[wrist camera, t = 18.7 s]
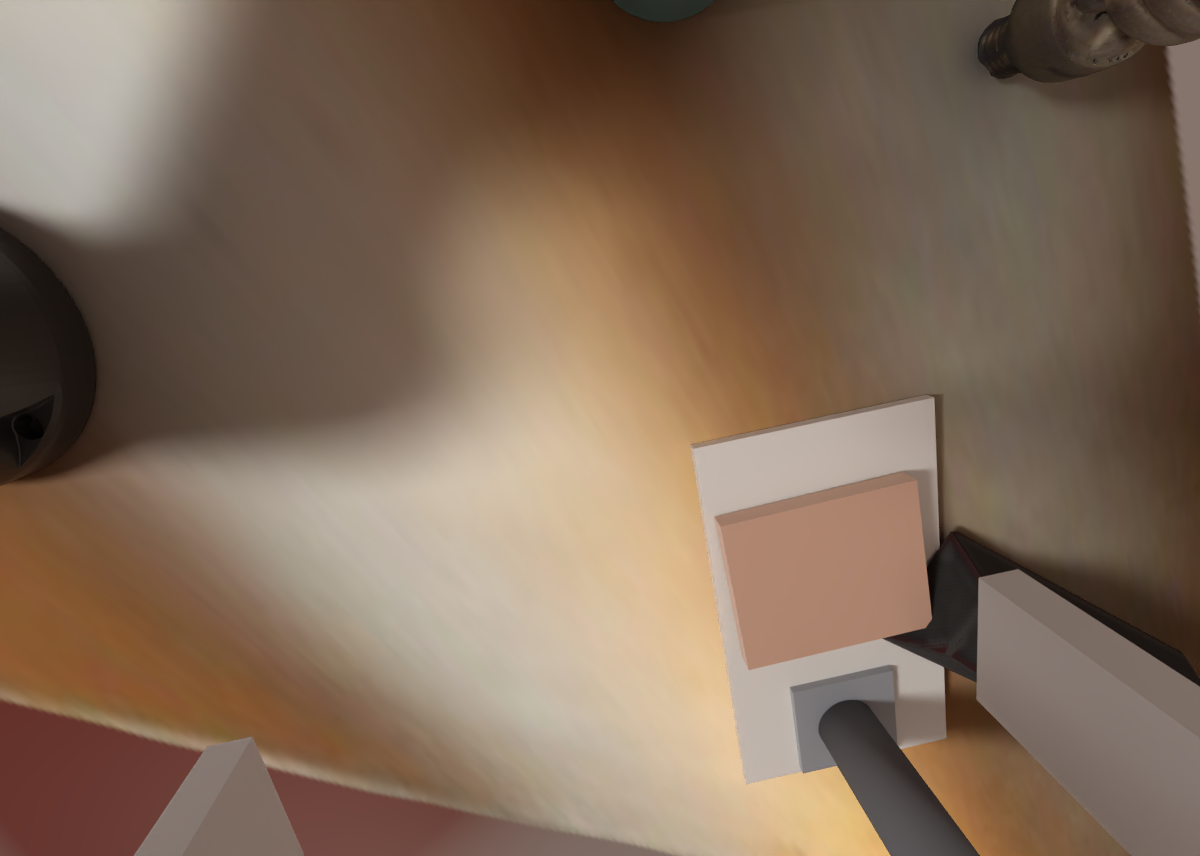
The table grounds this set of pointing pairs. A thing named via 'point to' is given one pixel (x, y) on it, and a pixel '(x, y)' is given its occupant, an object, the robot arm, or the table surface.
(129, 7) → the table surface
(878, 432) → the board
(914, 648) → the barrier
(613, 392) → the table surface
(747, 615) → the tile
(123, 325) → the table surface
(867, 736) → the tool handle
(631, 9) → the bracket
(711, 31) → the table surface
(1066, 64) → the light bulb
